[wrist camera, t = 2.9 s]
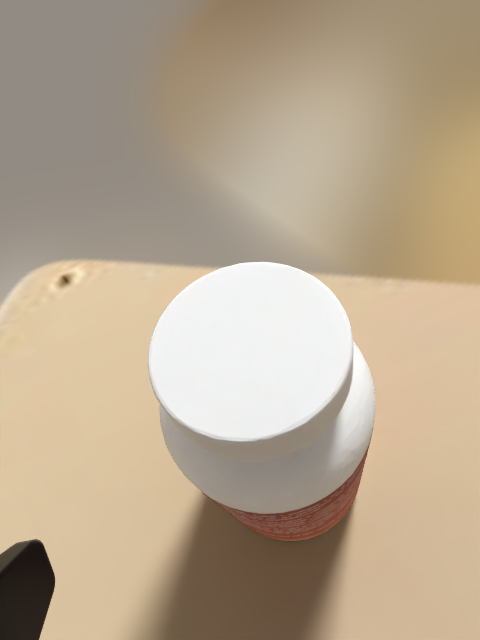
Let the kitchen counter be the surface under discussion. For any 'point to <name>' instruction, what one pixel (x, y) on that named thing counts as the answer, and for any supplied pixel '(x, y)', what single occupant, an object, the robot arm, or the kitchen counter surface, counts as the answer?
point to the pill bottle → (264, 397)
